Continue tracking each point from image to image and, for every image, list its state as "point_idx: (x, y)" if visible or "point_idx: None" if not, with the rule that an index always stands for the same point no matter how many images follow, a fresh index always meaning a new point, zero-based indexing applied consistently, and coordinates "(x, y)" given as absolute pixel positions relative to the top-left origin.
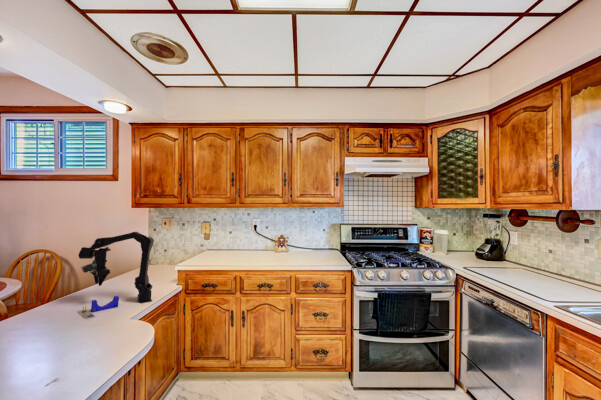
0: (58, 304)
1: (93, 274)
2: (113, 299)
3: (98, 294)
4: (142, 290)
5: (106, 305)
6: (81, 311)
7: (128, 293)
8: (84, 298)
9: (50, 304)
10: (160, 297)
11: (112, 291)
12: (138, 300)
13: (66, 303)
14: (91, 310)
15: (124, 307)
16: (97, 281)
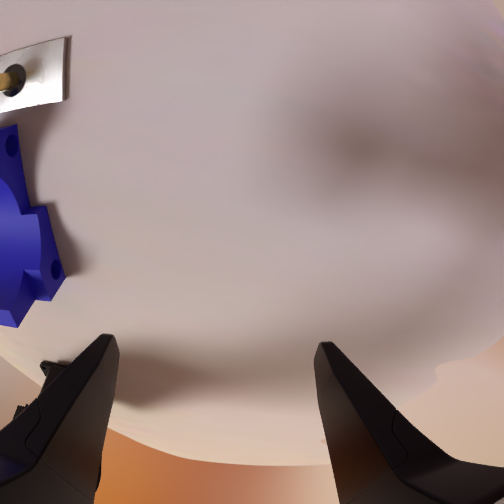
0: (452, 21)
1: (414, 490)
2: (11, 290)
3: (461, 291)
4: (13, 418)
5: (21, 230)
6: (31, 64)
7: None
8: (460, 203)
9: (486, 5)
10: (107, 426)
11: (439, 352)
12: (54, 370)
13: (438, 61)
14: (3, 128)
15: None
16: (320, 388)
